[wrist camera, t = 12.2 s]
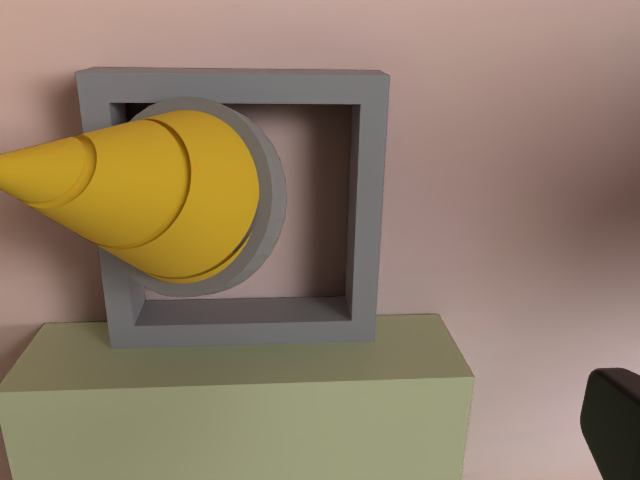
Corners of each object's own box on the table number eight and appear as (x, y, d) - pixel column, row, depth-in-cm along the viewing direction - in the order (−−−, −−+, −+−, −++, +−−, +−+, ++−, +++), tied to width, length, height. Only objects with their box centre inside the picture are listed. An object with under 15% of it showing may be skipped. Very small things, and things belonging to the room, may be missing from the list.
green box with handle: (463, 71, 18) (513, 84, 14) (415, 545, 25) (440, 635, 22) (-1, 65, 17) (-76, 78, 13) (86, 564, 24) (53, 663, 20)
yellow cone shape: (352, 230, 18) (163, 213, 8) (221, 317, 19) (-68, 387, 10) (267, 91, 19) (9, -67, 9) (148, 184, 20) (-180, 131, 11)
